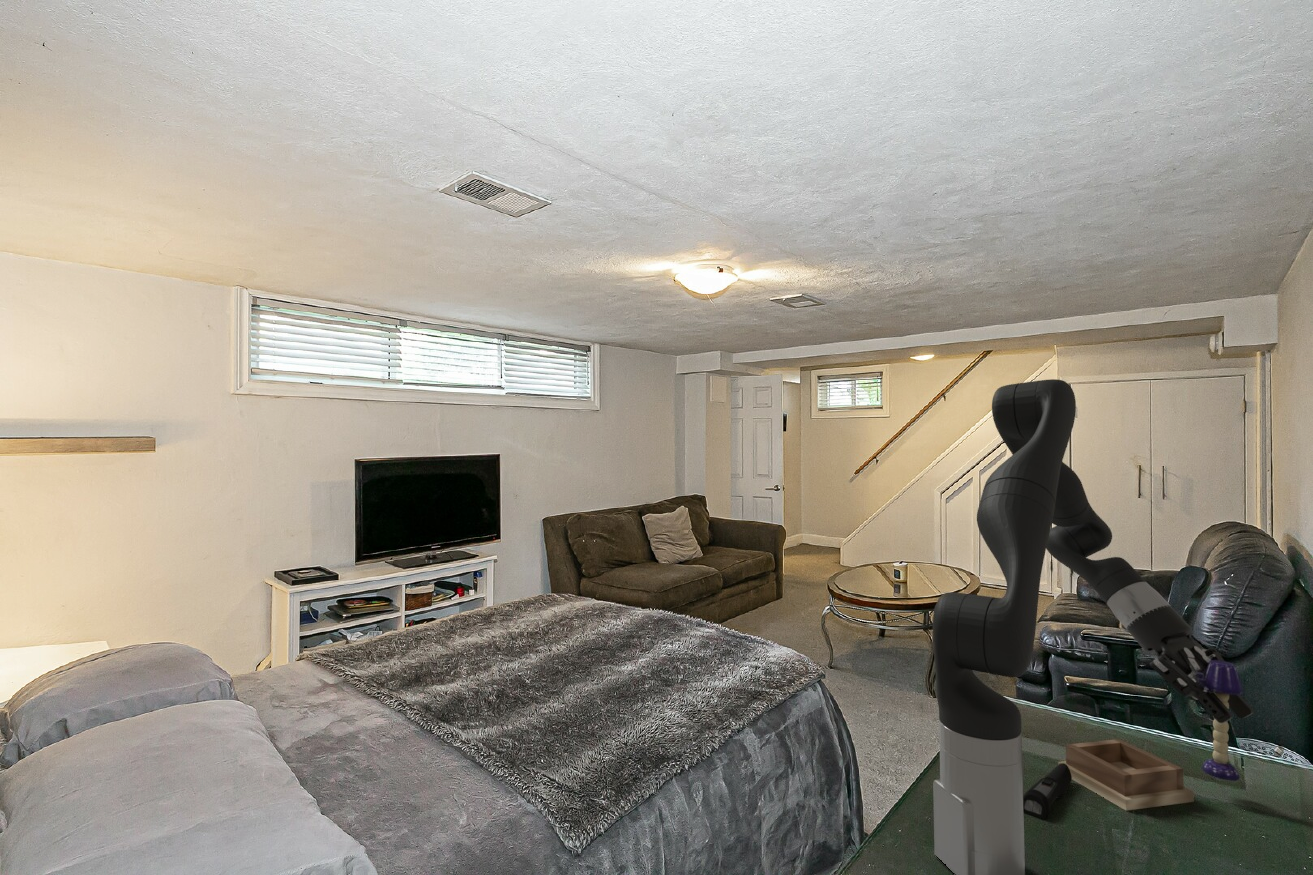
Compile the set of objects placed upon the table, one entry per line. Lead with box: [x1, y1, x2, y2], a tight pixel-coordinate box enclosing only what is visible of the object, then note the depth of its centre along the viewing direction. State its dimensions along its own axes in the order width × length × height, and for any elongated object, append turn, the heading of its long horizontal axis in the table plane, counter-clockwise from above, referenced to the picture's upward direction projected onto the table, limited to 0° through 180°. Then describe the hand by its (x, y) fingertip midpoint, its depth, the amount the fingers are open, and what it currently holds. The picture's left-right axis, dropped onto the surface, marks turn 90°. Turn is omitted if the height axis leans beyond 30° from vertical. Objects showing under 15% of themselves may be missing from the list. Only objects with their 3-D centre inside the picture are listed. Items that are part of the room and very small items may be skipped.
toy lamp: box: [1201, 660, 1244, 782], centre depth 96 cm, size 5×5×17 cm
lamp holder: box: [1057, 738, 1195, 811], centre depth 99 cm, size 12×12×4 cm
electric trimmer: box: [1023, 763, 1072, 821], centre depth 96 cm, size 4×16×3 cm, turn 133°
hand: (1237, 717), depth 94 cm, fingers closed on toy lamp, 4 cm apart
